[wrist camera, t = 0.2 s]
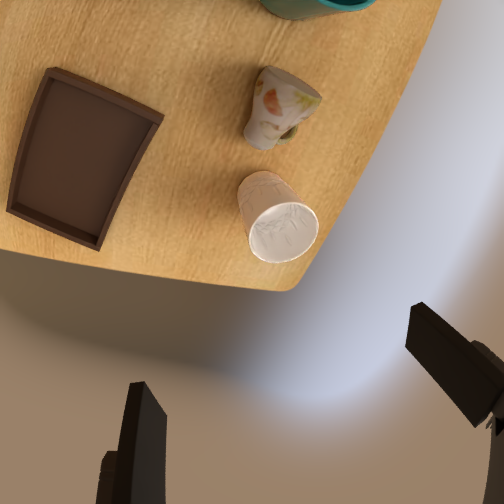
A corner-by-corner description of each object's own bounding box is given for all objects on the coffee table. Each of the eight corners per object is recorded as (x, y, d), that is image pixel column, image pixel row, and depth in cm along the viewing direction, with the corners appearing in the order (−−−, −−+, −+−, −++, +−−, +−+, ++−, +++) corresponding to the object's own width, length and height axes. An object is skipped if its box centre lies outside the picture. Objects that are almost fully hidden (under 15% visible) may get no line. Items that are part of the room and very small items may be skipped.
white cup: (224, 178, 35) (239, 218, 28) (282, 158, 35) (313, 192, 28) (242, 225, 41) (259, 272, 33) (293, 207, 40) (322, 249, 33)
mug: (223, 139, 32) (237, 111, 23) (257, 79, 32) (280, 41, 22) (277, 166, 34) (310, 150, 25) (306, 106, 34) (343, 77, 24)
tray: (55, 66, 21) (46, 68, 19) (164, 115, 29) (163, 119, 27) (13, 202, 29) (5, 211, 27) (102, 240, 36) (99, 252, 35)
